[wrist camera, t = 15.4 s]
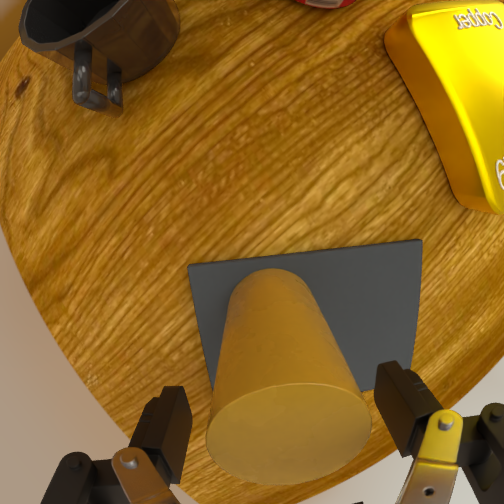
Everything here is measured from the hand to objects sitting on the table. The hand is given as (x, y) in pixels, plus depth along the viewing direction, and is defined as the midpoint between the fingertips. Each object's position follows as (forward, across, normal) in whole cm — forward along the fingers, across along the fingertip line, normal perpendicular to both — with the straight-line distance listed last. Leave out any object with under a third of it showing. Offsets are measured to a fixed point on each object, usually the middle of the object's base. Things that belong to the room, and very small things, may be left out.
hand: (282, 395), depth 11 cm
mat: (+9, -3, +2) cm, 10 cm away
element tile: (+9, -19, -14) cm, 26 cm away
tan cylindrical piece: (+9, 0, 0) cm, 9 cm away
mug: (+9, +8, -19) cm, 23 cm away
